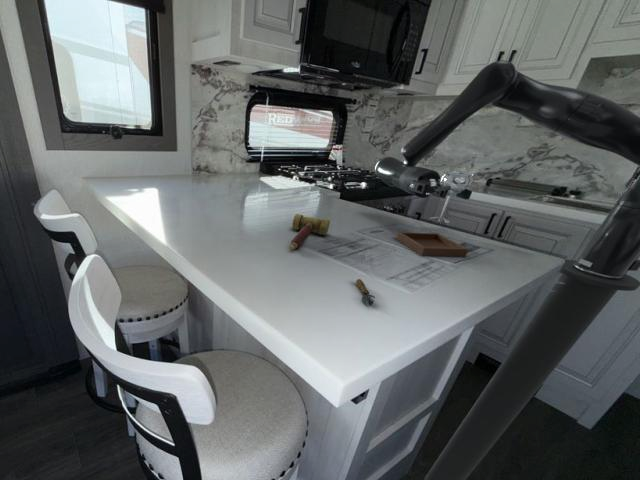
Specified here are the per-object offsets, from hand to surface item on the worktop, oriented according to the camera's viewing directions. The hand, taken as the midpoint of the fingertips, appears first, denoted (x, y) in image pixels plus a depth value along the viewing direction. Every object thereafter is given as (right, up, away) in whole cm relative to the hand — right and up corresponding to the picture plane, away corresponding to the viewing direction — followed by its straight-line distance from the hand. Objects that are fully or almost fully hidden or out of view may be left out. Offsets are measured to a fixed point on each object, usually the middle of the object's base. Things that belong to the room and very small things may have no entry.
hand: (457, 194), depth 76 cm
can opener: (-30, -25, -17) cm, 43 cm away
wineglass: (-1, -5, +6) cm, 8 cm away
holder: (-1, -12, +10) cm, 15 cm away
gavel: (-37, -10, +8) cm, 39 cm away
